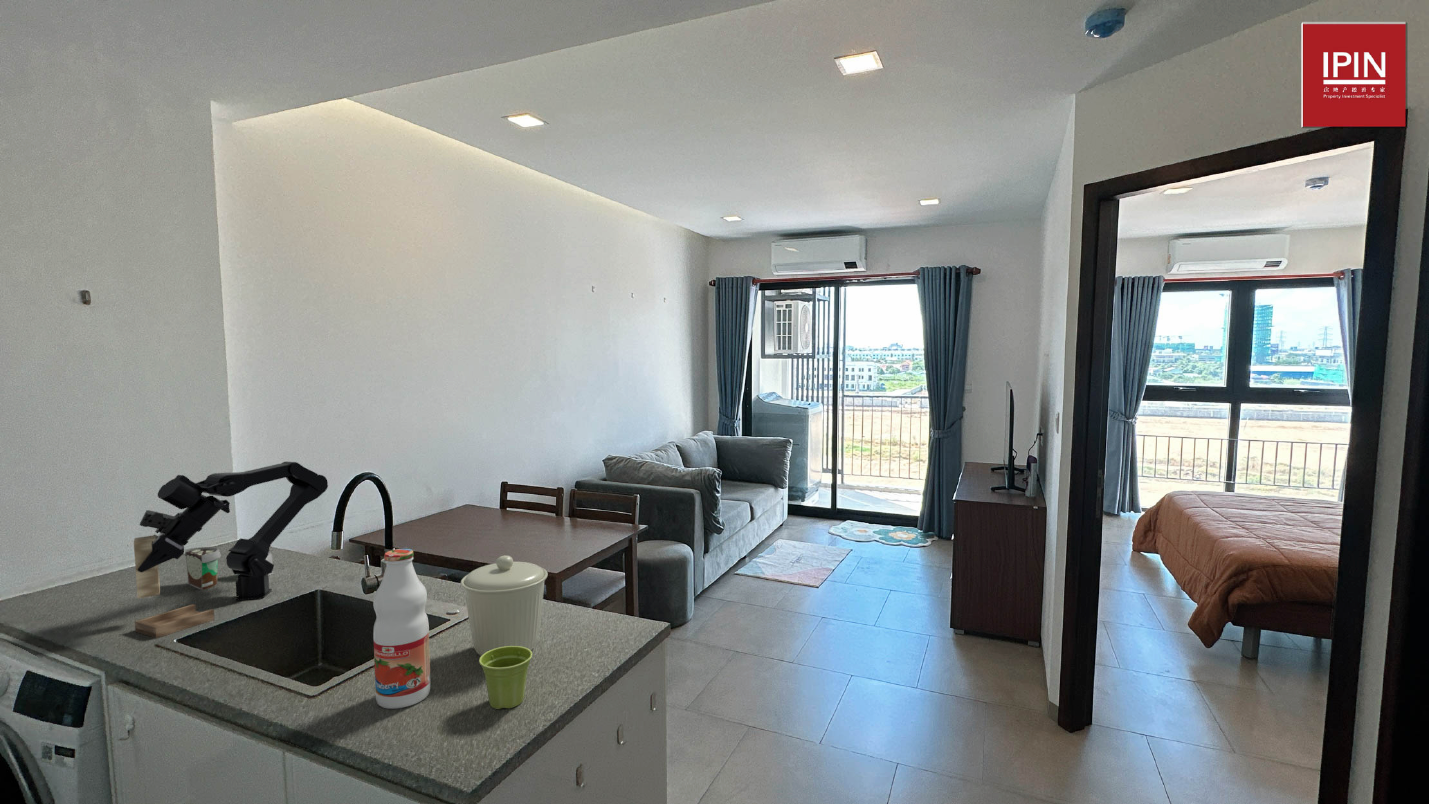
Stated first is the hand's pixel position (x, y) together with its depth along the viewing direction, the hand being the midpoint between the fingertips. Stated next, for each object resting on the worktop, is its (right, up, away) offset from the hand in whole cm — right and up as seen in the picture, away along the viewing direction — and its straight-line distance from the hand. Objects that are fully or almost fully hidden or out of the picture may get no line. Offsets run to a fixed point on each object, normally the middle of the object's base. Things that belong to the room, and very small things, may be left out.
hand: (139, 569), depth 158 cm
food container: (-6, -12, +29) cm, 32 cm away
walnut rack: (+9, -14, -1) cm, 16 cm away
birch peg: (+1, -7, +1) cm, 7 cm away
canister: (+94, -14, -15) cm, 96 cm away
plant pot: (+101, -16, -37) cm, 109 cm away
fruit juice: (+81, -16, -35) cm, 90 cm away
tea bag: (+3, -12, +37) cm, 39 cm away
